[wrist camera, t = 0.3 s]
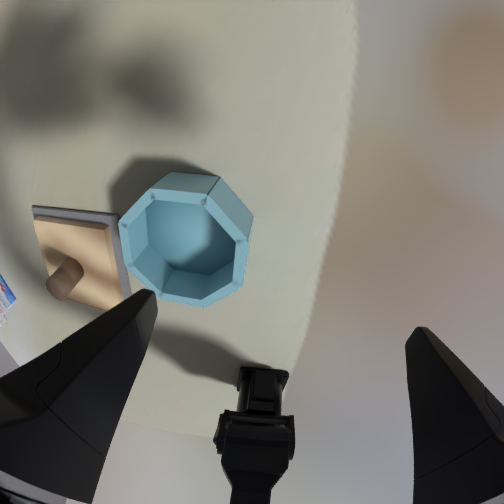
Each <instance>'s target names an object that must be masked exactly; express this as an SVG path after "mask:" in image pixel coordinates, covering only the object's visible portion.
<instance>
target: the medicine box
mask: <svg viewBox="0 0 504 504" xmlns="http://www.w3.org/2000/svg"><path fill="white" fill-rule="evenodd" d="M15 301H16V297H15V296H14V295H13V293H12V292H11V290H10V289H9V287H8V286H7V284H6V283H5V281H4V280H3V278H2V276H1V275H0V319H1V318H2V316H3V315H4V314H5V313H6V311H7V310H8V309H9V308H10V307H11V306H12V304H13V303H14V302H15Z"/></svg>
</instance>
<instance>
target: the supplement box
mask: <svg viewBox="0 0 504 504" xmlns="http://www.w3.org/2000/svg"><path fill="white" fill-rule="evenodd" d="M5 321H6V317H5V316H4V315H3V316H2V318H1V319H0V327H1V326H2V325H3V323H4V322H5Z"/></svg>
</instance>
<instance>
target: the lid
mask: <svg viewBox="0 0 504 504" xmlns="http://www.w3.org/2000/svg"><path fill="white" fill-rule="evenodd" d="M33 223H34V227H35V231H36V234H37V238H38V242H39V245H40V249H41V252H42V255H43V258H44V261H45V264H46V267H47V270H48V273H49V276H50V277H49V278H48V279H47V281H46V286H47V289H48V291H49V292H50V293H51V295H52V296H53V297H55V298H56V299H58V300H60V301H63V300H65V298H69V299H72V300H75V301H78V302H81V303H84V304H88V305H91V306H94V307H98V308H101V309H105V310H110V309H111V308H113V307H114V306H116V305H117V304H119V303H120V302H122V301H123V300H124V298H123V294H122V289H121V285H120V281H119V276H118V271H117V267H116V261H115V256H114V251H113V245H112V239H111V233H110V226H109V225H103V224H96V223H88V222H81V221H74V220H66V219H59V218H51V217H43V216H37V217H36V218H35V219H33Z"/></svg>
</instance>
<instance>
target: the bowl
mask: <svg viewBox="0 0 504 504" xmlns="http://www.w3.org/2000/svg"><path fill="white" fill-rule="evenodd" d="M252 223H253V215H252V213H251V212H250V211H249V210H248V209H247V207H246V206H245V205H244V204H243V203H242V202H241V200H240V199H239V198H238V197H237V196H236V194H235V193H234V192H233V191H232V190H231V189H230V187H229V186H228V185H227V184H226V183H225V182H224V181H223V179H222V178H219V176H209V175H199V174H188V173H177V172H171V173H168V174H167V175H166V176H165V177H163V178H162V179H161V180H159V181H158V182H157V183H156V184H154V185H153V186H152V187H151V188H149V189H148V190H147V191H146V192H145V193H144V194H143V195H142V196H141V198H140V199H139V200H138V201H137V202H136V203H135V204H134V205H133V206H132V207H131V208H130V209H129V210H128V211H127V213H126V214H125V215H124V216H123V217H122V218H121V219H120V220H119V222H118V225H119V233H120V240H121V246H122V253H123V259H124V264H125V266H126V268H127V269H128V270H129V271H130V272H131V273H132V274H133V275H134V276H135V277H136V278H137V279H138V280H140V281H141V282H142V283H143V284H144V285H145V286H146V287H147V288H148V289H149V290H153V291H154V292H155V294H156V296H157V297H158V298H160V299H163V300H167V301H173V302H178V303H183V304H188V305H194V306H199V307H204V306H205V307H207V306H209V305H210V304H212V303H214V302H216V301H218V300H219V299H221V298H223V297H225V296H227V295H228V294H230V293H232V292H234V291H236V290H237V289H239V288H241V287H242V286H243V281H244V276H245V271H246V265H247V260H248V254H249V246H250V238H251V230H252Z"/></svg>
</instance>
